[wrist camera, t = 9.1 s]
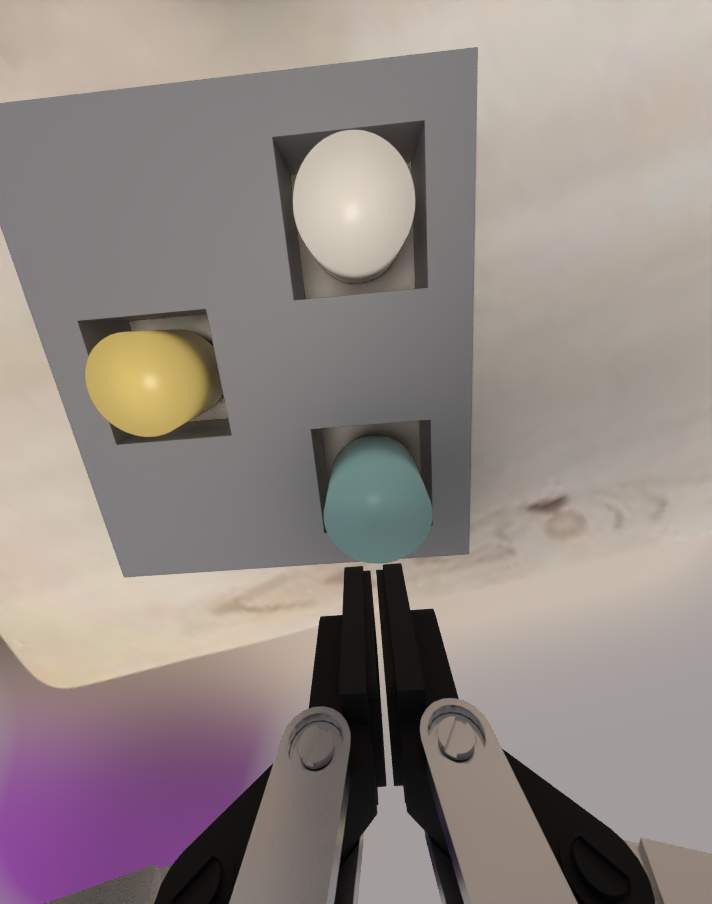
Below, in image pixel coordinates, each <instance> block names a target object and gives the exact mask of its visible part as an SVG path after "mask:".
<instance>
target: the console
mask: <svg viewBox="0 0 712 904" xmlns="http://www.w3.org/2000/svg"><path fill="white" fill-rule="evenodd" d="M477 61H478V47H475V48H466V49H458V50H449V51H441V52H432V53H424V54H415V55H407V56H398V57H390V58H381V59H373V60H364V61H356V62H347V63H339V64H330V65H322V66H313V67H305V68H296V69H288V70H279V71H271V72H262V73H254V74H245V75H237V76H228V77H220V78H211V79H203V80H194V81H186V82H177V83H169V84H160V85H152V86H143V87H135V88H126V89H118V90H109V91H101V92H92V93H84V94H75V95H67V96H58V97H49V98H41V99H32V100H24V101H15V102H7V103H0V226H1V229H2V232H3V235H4V237H5V240H6V243H7V246H8V249H9V252H10V255H11V257H12V260H13V263H14V266H15V269H16V272H17V274H18V277H19V280H20V283H21V286H22V289H23V292H24V294H25V297H26V300H27V303H28V306H29V309H30V311H31V314H32V317H33V320H34V323H35V326H36V329H37V331H38V334H39V337H40V340H41V343H42V346H43V348H44V351H45V354H46V357H47V360H48V363H49V366H50V368H51V371H52V374H53V377H54V380H55V383H56V385H57V388H58V391H59V394H60V397H61V400H62V403H63V405H64V408H65V411H66V414H67V417H68V420H69V422H70V425H71V428H72V431H73V434H74V437H75V440H76V442H77V445H78V448H79V451H80V454H81V457H82V459H83V462H84V465H85V468H86V471H87V474H88V477H89V479H90V482H91V485H92V488H93V491H94V494H95V496H96V499H97V502H98V505H99V508H100V511H101V514H102V516H103V519H104V522H105V525H106V528H107V531H108V533H109V536H110V539H111V542H112V545H113V548H114V551H115V553H116V556H117V559H118V562H119V565H120V568H121V570H122V573H123V576H124V577H137V576H151V575H166V574H181V573H196V572H211V571H226V570H241V569H256V568H271V567H285V566H300V565H315V564H330V563H345V562H360V561H359V560H356V559H354V558H351V557H349V556H348V555H346V554H345V553H343V552H342V551H341V550H339V549H338V548H337V547H336V546H335V545H334V543H333V542H332V541H331V539H330V537H329V535H328V534H327V531H326V528H325V524H324V507H325V502H326V497H327V492H328V483H327V474H326V466H325V458H324V450H323V441H322V433H321V428H331V427H344V426H356V425H369V424H381V423H393V422H406V421H418V420H419V429H420V462H421V478H422V481H423V483H424V486H425V488H426V491H427V493H428V496H429V499H430V501H431V505H432V512H433V516H432V524H431V528H430V530H429V533H428V535H427V537H426V538H425V540H424V541H423V543H422V544H421V545H420V546H419V547H418V548H417V549H416V550H415V551H413V552H412V553H410V554H409V555H407V556H405V557H403V558H401V559H405V558H419V557H434V556H449V555H464V554H469V536H470V476H471V417H472V358H473V299H474V239H475V180H476V121H477ZM345 130H363V131H367V132H371V133H374V134H376V135H378V136H380V137H382V138H383V139H385V140H386V141H388V142H389V143H390V144H391V145H392V146H393V147H395V149H396V150H397V151H398V152H399V153H400V155H401V156H402V158H403V159H404V161H405V162H411V170H412V180H413V185H414V190H415V211H414V218H413V235H414V268H415V289H410V290H399V291H389V292H378V293H367V294H357V295H346V296H336V297H325V298H314V299H305V293H304V285H303V277H302V269H301V261H300V252H299V244H298V236H297V228H296V222H295V217H294V212H293V195H292V187H291V178H290V175H293V174H298V171H299V169H300V166H301V164H302V163H303V161H304V159H305V158H306V156H307V155H308V154H309V152H310V151H311V150H312V149H313V148H314V147H315V146H316V145H317V144H318V143H319V142H321V141H322V140H323V139H325V138H326V137H328V136H330V135H332V134H335V133H337V132H340V131H345ZM197 314H207V316H208V321H209V326H210V331H211V336H212V341H213V346H214V351H215V355H216V360H217V365H218V370H219V375H220V380H221V385H222V390H223V394H224V399H225V404H226V409H227V414H228V419H217V420H204V421H192V422H186V423H184V424H183V425H181V426H179V427H178V428H176V429H174V430H172V431H171V432H169V433H166V434H164V435H160V436H155V437H143V436H137V435H133V434H130V433H127V432H125V431H123V430H121V429H119V428H117V427H116V426H114V425H113V424H111V423H110V422H109V421H108V420H107V419H106V418H104V417H103V416H102V414H101V413H100V412H99V411H98V409H97V408H96V406H95V405H94V403H93V401H92V400H91V398H90V395H89V392H88V389H87V385H86V379H85V370H86V363H87V360H88V357H89V355H90V353H91V351H92V350H93V348H94V347H95V346H96V345H97V344H98V343H99V342H100V341H101V340H103V339H104V338H106V337H108V336H110V335H112V334H115V333H120V332H131V328H130V324H129V321H133V320H144V319H155V318H165V317H176V316H187V315H197Z"/></svg>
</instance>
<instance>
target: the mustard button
mask: <svg viewBox="0 0 712 904" xmlns="http://www.w3.org/2000/svg"><path fill="white" fill-rule="evenodd" d="M85 379H86V385H87V389H88V392H89V395H90V398H91V400H92V401H93V403H94V405H95V406H96V408H97V409H98V411H99V412H100V413H101V414H102V416H103V417H104V418H106V419H107V420H108V421H109V422H110V423H111V424H113V425H114V426H116V427H117V428H119V429H121V430H123V431H125V432H127V433H130V434H133V435H137V436H143V437H155V436H160V435H164V434H166V433H169V432H171V431H172V430H174V429H176V428H178V427H179V426H181V425H183V424H184V423H186V422H188V421H190V420H191V419H193V418H195V417H197V416H198V415H200V414H202V413H203V412H205V411H207V410H208V409H210V408H212V407H213V406H214V405H215V404H216V403H217V402H218V401H219V399H220V398H221V396H222V394H223V390H222V385H221V380H220V375H219V370H218V365H217V360H216V355H215V351H214V347H213V346H212V345H211V344H210V343H209V342H208V341H207V340H205V339H204V338H202V337H201V336H199V335H197V334H195V333H193V332H190V331H186V330H155V331H132V332H120V333H115V334H112V335H110V336H108V337H106V338H104V339H103V340H101V341H100V342H99V343H98V344H97V345H96V346H95V347H94V348H93V350H92V351H91V353H90V355H89V357H88V360H87V363H86V370H85Z"/></svg>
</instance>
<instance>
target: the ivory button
mask: <svg viewBox="0 0 712 904" xmlns="http://www.w3.org/2000/svg"><path fill="white" fill-rule="evenodd" d="M414 211H415V190H414V185H413V180H412V177H411V174H410V171H409V169H408V167H407V164H406V162H405V161H404V159H403V158H402V156H401V155H400V153H399V152H398V151H397V150H396V149H395V147H393V146H392V145H391V144H390V143H389V142H388V141H386V140H385V139H383V138H382V137H380V136H378V135H376V134H374V133H371V132H367V131H363V130H345V131H340V132H337V133H335V134H332V135H330V136H328V137H326V138H325V139H323V140H322V141H321V142H319V143H318V144H317V145H316V146H315V147H314V148H313V149H312V150H311V151H310V152H309V154H308V155H307V156H306V158H305V159H304V161H303V163H302V164H301V166H300V169H299V171H298V174H297V177H296V180H295V185H294V191H293V212H294V217H295V222H296V225H297V229H298V231H299V233H300V236H301V238H302V239H303V241H304V243H305V245H306V246H307V247H308V249H309V250H310V252H311V253H312V255H313V256H314V257H315V259H316V260H317V262H318V263H319V264H320V266H321V267H322V268H323V269H324V270H325V271H326V272H327V273H328V274H330V275H331V276H333V277H334V278H336V279H338V280H341V281H344V282H348V283H362V282H367V281H370V280H372V279H374V278H376V277H378V276H379V275H381V274H382V273H383V272H385V271H386V270H387V269H388V267H389V266H390V265H391V264H392V262H393V261H394V259H395V257H396V256H397V254H398V252H399V250H400V249H401V247H402V245H403V243H404V241H405V239H406V238H407V236H408V234H409V231H410V228H411V226H412V222H413V218H414Z"/></svg>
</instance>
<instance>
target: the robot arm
mask: <svg viewBox="0 0 712 904" xmlns="http://www.w3.org/2000/svg"><path fill="white" fill-rule="evenodd" d="M376 574H377V587H378V599H379V611H380V623H381V636H382V648H383V660H384V672H385V682H386V683H385V684H386V694H387V707H388V719H389V731H390V743H391V755H392V766H393V778H394V786H402V785H403V787H404V796H405V803H406V806H407V812H408V813H409V814H410V815H411V816H412V818H413V819H414V820H415V821H416V822H417V823H418V824H419V825H420V826H421V827H422V828H423V829H424V830H425V838H426V842H427V846H428V850H429V854H430V858H431V862H432V866H433V870H434V874H435V878H436V882H437V886H438V889H439V893H440V898H441V902H442V904H712V854H710V853H706V852H702V851H697V850H693V849H688V848H684V847H679V846H675V845H671V844H666V843H662V842H657V841H653V840H649V839H644V838H641V839H640V843H634V842H630V841H625V840H622V839H621V838H620V837H619V836H618V835H617V834H616V833H615V832H614V831H612V830H611V829H610V828H609V827H607V826H606V825H605V824H603V823H602V822H601V821H599V820H598V819H597V818H595V817H594V816H593V815H591V814H590V813H589V812H587V811H586V810H584V809H583V808H582V807H580V806H579V805H578V804H576V803H575V802H573V801H572V800H571V799H570V798H568V797H567V796H565V795H564V794H563V793H561V792H560V791H559V790H557V789H556V788H554V787H553V786H552V785H551V784H549V783H548V782H547V781H545V780H544V779H542V778H541V777H540V776H538V775H537V774H536V773H534V772H533V771H532V770H530V769H529V768H527V767H526V766H525V765H523V764H522V763H521V762H519V761H518V760H517V759H515V758H514V757H513V756H511V755H510V754H509V753H507V752H506V751H505V750H503V749H502V748H501V746H500V744H499V742H498V740H497V738H496V736H495V734H494V732H493V730H492V728H491V726H490V724H489V722H488V721H487V719H486V718H485V716H484V715H483V714H482V713H481V712H480V711H479V710H478V709H477V708H476V707H475V706H473V705H471V704H469V703H468V702H466V701H464V700H459V699H458V695H457V692H456V688H455V684H454V681H453V677H452V673H451V670H450V666H449V663H448V659H447V655H446V652H445V648H444V644H443V641H442V637H441V633H440V630H439V626H438V623H437V619H436V615H435V612H434V610H433V609H422V610H410V607H409V602H408V596H407V591H406V586H405V581H404V576H403V570H402V565H401V563H398V564H385V565H383V570H376ZM383 744H384V743H383V728H382V714H381V698H380V683H379V669H378V654H377V642H376V630H375V618H374V607H373V595H372V584H371V572H370V571H363V566H358V567H345V570H344V592H343V615H337V616H323V617H320V621H319V628H318V636H317V645H316V653H315V661H314V670H313V679H312V686H311V695H310V703H309V709H307V710H304V711H302V712H301V713H300V714H299V715H297V716H296V717H295V718H293V720H292V721H291V722H290V723H289V724H288V726H287V727H286V729H285V731H284V734H283V736H282V738H281V741H280V744H279V747H278V750H277V754H276V757H275V760H274V763H273V764H272V765H271V766H270V767H269V768H268V769H267V770H266V771H265V772H264V773H263V774H262V775H261V776H260V777H259V778H258V779H257V780H256V781H255V782H254V783H253V784H252V785H251V786H250V787H249V788H248V789H247V790H246V791H245V792H244V793H243V794H242V795H241V796H239V797H238V798H237V800H235V801H234V802H233V803H232V804H231V805H230V806H229V807H228V808H227V809H226V810H225V811H224V812H223V813H222V814H221V815H220V816H219V817H218V818H217V819H216V820H215V821H214V822H213V823H212V824H211V825H210V826H209V827H208V828H207V829H206V830H205V831H204V832H203V833H202V834H201V835H200V836H199V837H198V838H197V839H196V840H195V841H194V842H193V843H192V844H191V845H190V846H189V847H188V848H187V849H186V850H185V851H184V852H183V853H182V854H181V855H180V856H179V857H178V859H177V860H176V861H175V862H174V864H172V865H170V866H167V867H164V868H161V869H158V867H157V865H156V864H155V865H152V866H149V867H146V868H144V869H141V870H138V871H135V872H132V873H130V874H127V875H124V876H121V877H118V878H115V879H113V880H110V881H107V882H104V883H102V884H99V885H96V886H93V887H90V888H87V889H85V890H82V891H79V892H76V893H74V894H70V895H68V896H65V897H62V898H59V899H57V900H54V901H51V902H48V903H45V904H357V901H358V892H359V882H360V872H361V861H362V851H363V850H362V849H363V833H364V831H365V830H366V828H367V827H368V826H369V824H370V823H371V822H372V820H373V819H374V817H375V816H376V815H377V805H378V791H377V787H383V786H386V773H385V757H384V745H383Z"/></svg>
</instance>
